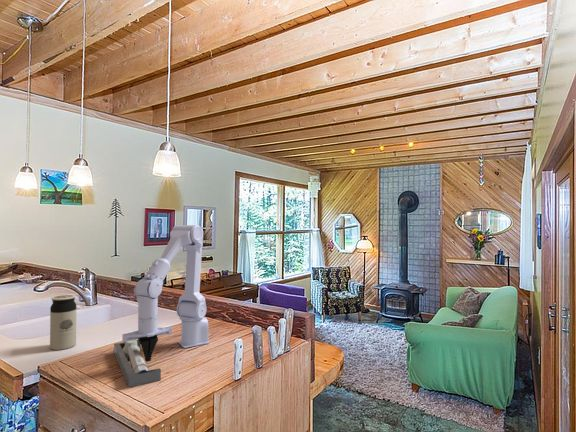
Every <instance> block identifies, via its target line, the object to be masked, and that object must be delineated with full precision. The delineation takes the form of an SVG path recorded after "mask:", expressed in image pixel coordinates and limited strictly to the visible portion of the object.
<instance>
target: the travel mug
mask: <svg viewBox="0 0 576 432" xmlns="http://www.w3.org/2000/svg"><path fill="white" fill-rule="evenodd" d="M76 297H77V296H76V295H74V294H62V295H60V294H59V295H56V296H52V297H51V298H50V299H51V301H52V303H51V305H50V308H49V309H50V315H49V316H50V318H49V323H50V324H49V328H50V329H49V348H50V350H52V351H53V350H54V351H62V350H67V349H70V348H71V349H72V348H73V347H75V346H76V345H77V303H76V301H75V299H76Z"/></svg>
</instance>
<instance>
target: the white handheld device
mask: <svg viewBox="0 0 576 432" xmlns="http://www.w3.org/2000/svg"><path fill="white" fill-rule="evenodd" d="M137 340H138V339H135V340H129V341H127V342H125V347H124V348H123V349H122V350H123V352H124V354H125V356H126V358H127V360H128V361H129V364H130V366H131V368H132V370H133V372H134V374H135V373H140V372H145V371H149V365H147V364H146V361H145V359H144V357H143V355H142V354H141V347H140V348H139V346H137Z"/></svg>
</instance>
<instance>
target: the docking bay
mask: <svg viewBox="0 0 576 432" xmlns="http://www.w3.org/2000/svg"><path fill="white" fill-rule="evenodd" d="M136 340H137V346H139V348H140V349H141V344H140V342H139V340H138V339H136ZM124 347H125V342H123V341H122V342H117V343H113V354H114V356H115V359H116V361H117V363H118V366H119V368H120V370H121V373H122V375H123V378H124V379H125V380H124V381H125V382H126V385H127V388H128V389H129V388H134V387H138V386H143V385H147V384H150V383H154V382H158V381H161V380H162V377H161V376H162V373H161V372H162V370H161V367H159V368H154V369H150V370H149V369H148V371H145V372H140V373H135V374H134V372H133V370H132V367H131V363H130V361H129V360H127V358H126V356H125V354H124V352H123V350H122V349H123V348H124Z"/></svg>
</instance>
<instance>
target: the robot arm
mask: <svg viewBox="0 0 576 432" xmlns="http://www.w3.org/2000/svg"><path fill="white" fill-rule="evenodd" d="M169 236H170V237H169V238H170V239H169V241H168V243H167V244H166V247H165V249H164V250H163V252H162V253H161V257H160V258H156V259H155V260H153V262H152V263H151V265H150V267H149V269H148V270H147V272H146V273H145V275H144V277H143V278H141V279H139V280H138V281H137V282H136V283H135V286H134V288H133V292H134V293H133V294H134V295H135V297H136V302H137V306H138V307H137V313H138V314H137V316H138V317H137V327H138V328H137V330H136V331H135V330H134V331H132V332H127V333H122V334H121V335H122V339H121V341H122V342H127V341H129V340H135V339H136V340H139V342H140V347H141V349H142V351H143V356H144V362H145V363H146V362H151V360H152V355H153V352H154V350H155V347H156V345H157V343H158V342H159V336H164V335H173V328H172V327H171V326H166V327H164V326H163V327H158V325H159V323H158V319H159V317H158V316H159V315H158V313H159V312H158V304H159V303H158V301H159V298H158V297H159V296H160V295H161V293H162V291H163V286H164V280H165V278H166V276H167V275H168V274H169V272H170V270H171V262H172V261H173V259H174V258H175V256H176V255H177V253H178V252H179V250H181V248H182V247H184V249H186V265H185V279H184V280H185V283H184V292H183V294H182V295H181V296H179V298H178V303H177V306H176V315H177V317H179V320H180V321H181V323H180V324H181V325H180V326H181V327H180V328H181V332H180V335H181V336H180V337H181V339H180V340H177V343H178V344H179V345H180V346H181V347H182V348H183V349H186V348H190V347H191V348H192V347H197V346H202V345H207V344H210V341H209V330H210V329H209V320H208V319H207V317H206V314H207V303H206V298H205V296H203V294H201V292H200V288H201V272H202V255H203V254H202V253H203V246H204V230H203V229H202V226H200V225H199V224H176V225H174V226H173V227H172V230H171V231H170V232H169Z"/></svg>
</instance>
